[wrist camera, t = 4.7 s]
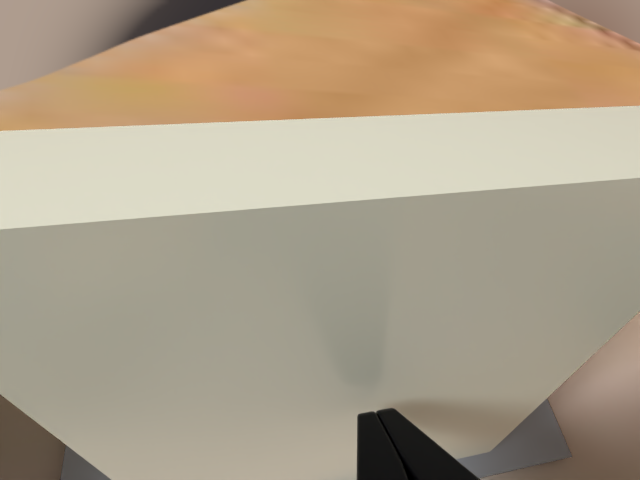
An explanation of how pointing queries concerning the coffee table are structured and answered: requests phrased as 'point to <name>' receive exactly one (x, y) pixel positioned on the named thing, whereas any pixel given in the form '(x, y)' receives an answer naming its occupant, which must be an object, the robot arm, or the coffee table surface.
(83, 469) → the slate mat
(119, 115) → the coffee table surface
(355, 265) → the ceramic tile
